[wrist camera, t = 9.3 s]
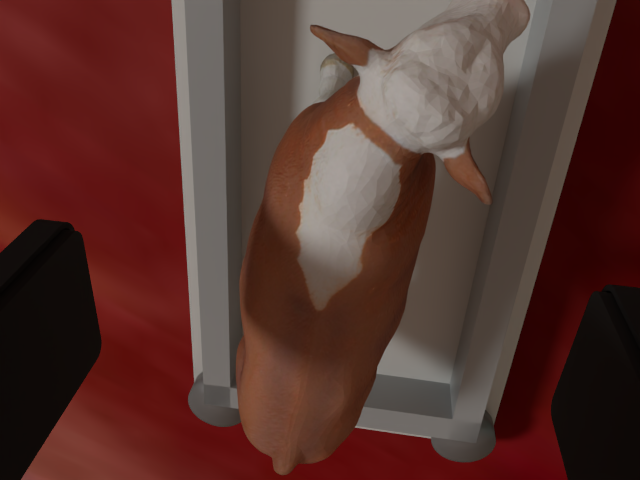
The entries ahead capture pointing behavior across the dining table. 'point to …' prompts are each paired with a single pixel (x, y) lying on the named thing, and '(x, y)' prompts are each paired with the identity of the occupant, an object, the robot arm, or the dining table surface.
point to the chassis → (446, 208)
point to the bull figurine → (357, 219)
